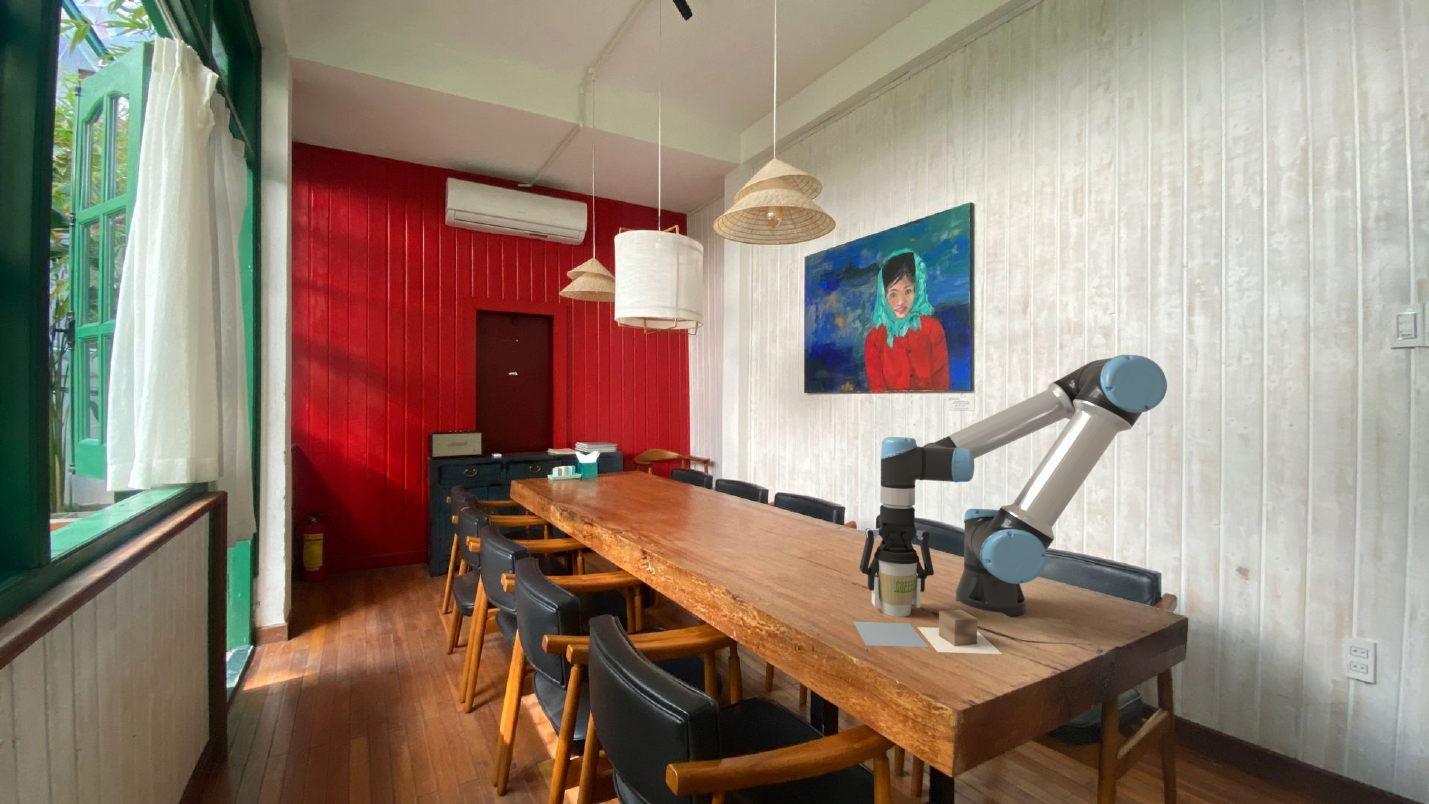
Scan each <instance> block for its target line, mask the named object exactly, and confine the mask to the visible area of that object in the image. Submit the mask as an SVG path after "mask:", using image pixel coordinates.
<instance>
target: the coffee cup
mask: <svg viewBox="0 0 1429 804" xmlns="http://www.w3.org/2000/svg"><path fill="white" fill-rule="evenodd" d="M879 547H880V545H878V546H877V548H876V551H875V552H874V555H873V558H874V557H875V558H876V559H878V560H879V568H878V570H877V572H876V575H877V577H878V600H879V603H880V611H881V612H882V613H883V614H884V615H888V616H889V617H890V616H892V617H898V618H903V617H904V618H905V617H909V616H910V615H911V612H912V611H911V610H912V605H913V596H914V589H915V582H916V575H918V574H917V572H916V569H917V562H920V560H921V559H920V557H919V555H918V552H917V550H916V549H915V548H914V551H911V552H908V551H907V550H906V549H905V548H902V547H890V549H889V550H888V551H884V550H881V549H879Z"/></svg>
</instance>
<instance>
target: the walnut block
mask: <svg viewBox="0 0 1429 804" xmlns="http://www.w3.org/2000/svg"><path fill="white" fill-rule="evenodd" d="M938 628H939V636H940V637H941V638H943V639H944V640H946V641H948V642H949V643H951V644H952V645H954V646H961V645H972V644H977V631H978V618H977V617H975V616H973V615H971V614H970V613H969V612H966V611H964V610H962V609H952V610H950V609H949V610H948V609H947V610H939V611H938Z"/></svg>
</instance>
